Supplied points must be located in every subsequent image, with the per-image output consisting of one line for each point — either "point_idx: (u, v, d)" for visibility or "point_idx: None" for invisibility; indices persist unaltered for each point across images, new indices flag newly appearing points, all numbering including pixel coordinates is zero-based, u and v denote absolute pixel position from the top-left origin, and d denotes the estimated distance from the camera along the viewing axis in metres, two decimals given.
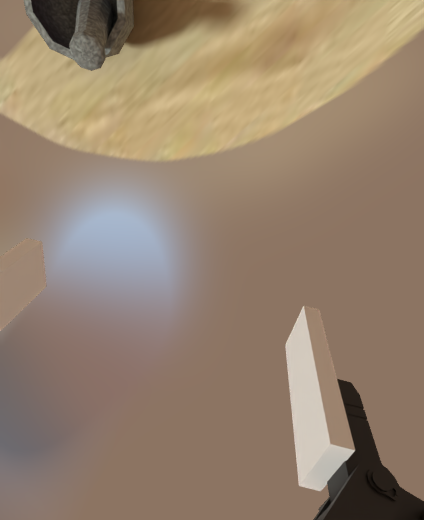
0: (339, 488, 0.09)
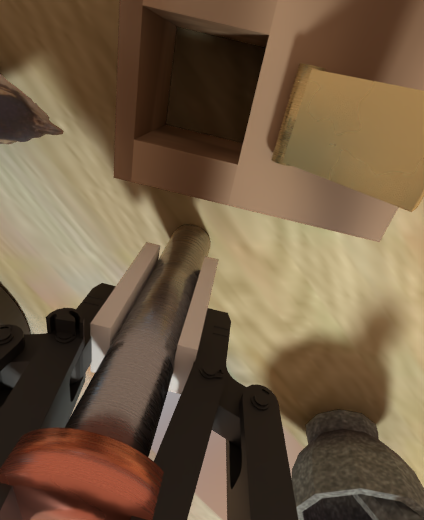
0: None
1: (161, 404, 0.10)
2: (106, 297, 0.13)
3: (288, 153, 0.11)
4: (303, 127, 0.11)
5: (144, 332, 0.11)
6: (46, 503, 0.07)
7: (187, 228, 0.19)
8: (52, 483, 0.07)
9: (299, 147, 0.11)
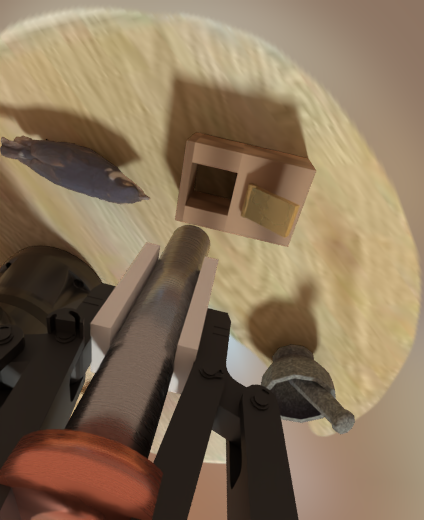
0: None
1: (160, 405, 0.10)
2: (106, 297, 0.13)
3: (246, 214, 0.30)
4: (250, 205, 0.29)
5: (144, 333, 0.11)
6: (46, 505, 0.07)
7: (187, 229, 0.19)
8: (51, 485, 0.07)
9: (249, 212, 0.29)
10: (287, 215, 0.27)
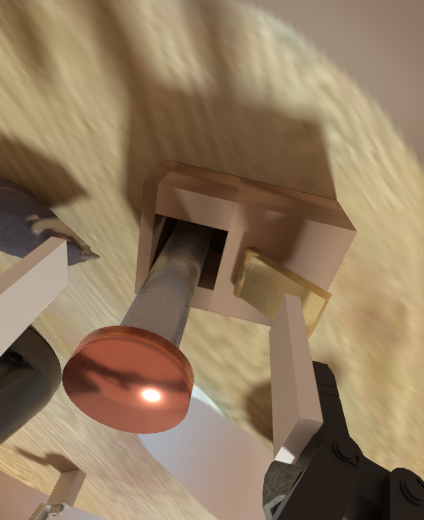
0: (309, 461, 0.10)
1: (182, 329, 0.13)
2: None
3: (242, 293, 0.19)
4: (249, 283, 0.18)
5: (167, 279, 0.14)
6: (107, 378, 0.10)
7: None
8: (114, 356, 0.10)
9: (247, 292, 0.18)
10: (309, 309, 0.16)
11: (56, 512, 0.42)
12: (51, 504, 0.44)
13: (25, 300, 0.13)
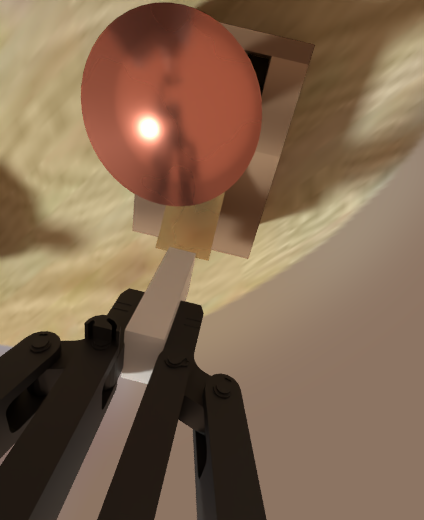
0: None
1: None
2: (134, 303, 0.14)
3: None
4: None
5: None
6: (200, 97, 0.07)
7: None
8: (246, 119, 0.07)
9: None
10: (193, 248, 0.17)
11: None
12: None
13: None
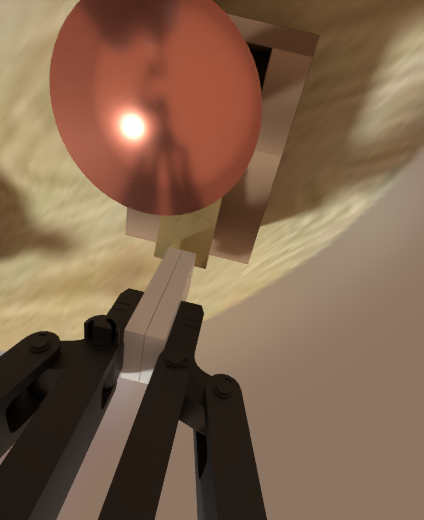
0: None
1: None
2: (134, 303, 0.14)
3: None
4: None
5: None
6: (188, 89, 0.06)
7: None
8: (244, 114, 0.06)
9: None
10: None
11: None
12: None
13: None
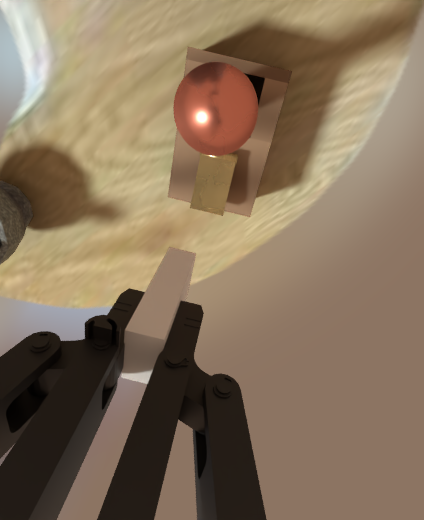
0: None
1: None
2: (135, 303, 0.14)
3: (204, 156, 0.26)
4: (214, 162, 0.26)
5: None
6: (230, 101, 0.16)
7: None
8: (251, 111, 0.16)
9: (207, 161, 0.26)
10: (213, 207, 0.27)
11: None
12: None
13: None
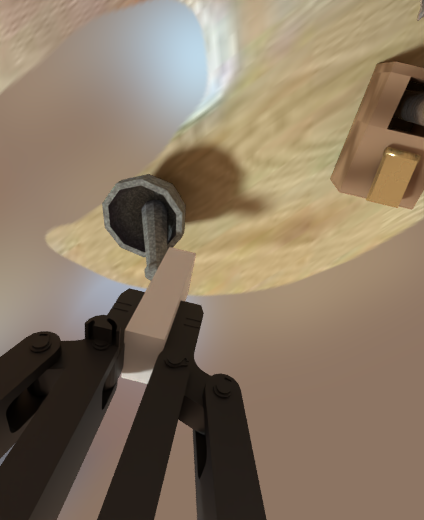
0: None
1: None
2: (135, 303, 0.14)
3: (390, 156, 0.30)
4: (399, 161, 0.30)
5: None
6: None
7: None
8: None
9: (392, 160, 0.30)
10: (390, 201, 0.31)
11: None
12: None
13: None
